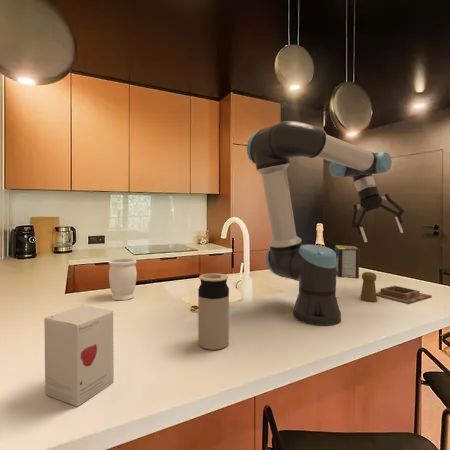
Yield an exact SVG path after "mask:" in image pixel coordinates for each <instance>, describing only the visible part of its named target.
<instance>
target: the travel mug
mask: <svg viewBox="0 0 450 450" xmlns="http://www.w3.org/2000/svg"><path fill="white" fill-rule="evenodd" d="M199 279H200V285H199V287H198V290H197V291H198V292H197V293H198V302H197V303H198V304H197V305H198V307H197V308H198V311H197V312H198V315H197V317H198V320H197V321H198V324H197V326H198V336H197V337H198V339H197V341H198V346H199V347H201V348H203V349H205V350H209V351H218V350H220V349H224V348H225V347H227V346H229V343H230V342H229V341H230V340H229V338H230V337H229V334H230V333H229V332H230V331H229V329H230V327H229V326H230V325H229V323H230V311H229V310H230V303H229V302H230V288H229V286H228V284H227V281H228V279H229V276H228V275H227V274H225V273H224V274H223V273H215V272H214V273H204V274H201V275H199Z"/></svg>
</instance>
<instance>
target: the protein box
mask: <svg viewBox="0 0 450 450" xmlns="http://www.w3.org/2000/svg"><path fill="white" fill-rule="evenodd" d="M334 247H335V248H334V252H335V253H336V261H337V270H336V277H337V278H344V277H348V278H349V279H359V277H360V275H359V274H360V248H359V247H356V246H355V245H334ZM348 278H347V279H348Z"/></svg>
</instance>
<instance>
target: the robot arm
mask: <svg viewBox="0 0 450 450" xmlns="http://www.w3.org/2000/svg"><path fill="white" fill-rule="evenodd" d="M246 153H247V156H248V159H249V161H251V163H253V164H255V168H256V172H258V173H259V174H261V177H262V183H263V189H264V194H265V202H266V208H267V213H268V219H269V225H270V230H271V236H272V239H271V241H270V242H269V248H268V249H267V253H266V255H265V262H266V266H267V268H268V269H269V271H270V272H271V273H273V274H274V275H276V276H279V277H281V278H286V279H289V280H293V281H297V282H298V294H297V298H296V300H295V304H294V306H293V309H292V312H293V313H292V315H293V318H295V319H296V320H298V321H300V322H302V323H305V324H309V325H314V326H331V325H332V326H333V325H336V324H339V323H340V322H341V321H342V313H341V309H340V307H339V303H338V299H337V296H336V295H337V274H336V270H337V261H336V253H335V250H333V249H332V248H330V247H327V246H324V245H316V244H303V242H302V238H300V237H299V236H297V231H296V226H295V225H296V224H295V218H294V212H293V205H292V199H291V192H290V185H289V179H288V174H287V170H288V167H289V166H290V164H291V163H290V159H291V158H299V157H304V158H308V159H315V158H318V159H323V160H324V161H329V162H330V164H329V168H328V169H329V173H330V175H331V176H332V177H334V178H352V180H353V184H354V186H355V189H356V192H357V196H358V198H359V202H360V203H359V204H358V203H357V204H353V209H354V211H353V215H352V222H351V228H354V229H356V230H357V233H358V235H359V236H362V238H363V242H364V243H367V242H368V239H367V236H366V233H365V230H364V227H363V226H362V224H363V223H364V220H365V218H366V216H367V214H368V212H372V211H375V210H376V211H377V210H379V209H380V208H381V209H383V210H384V211H387V212H389V213H391V214H392V215H394V216H395V217H394V218H395V221H396V223H397V226H398V229H399V232H400V233H401V234H404V229H403V228H402V225H403V224H404V221H403V218H402V215H403V214H405V210H404V209H403V208H402V207H401V206H399V205H398V204H397V203H396V202H395V201H394V200H393V199H391V196H390V195H389V194H388V193H385V194H384V195H382V196H381V195H380V193H379V190H378V188H377V186H376V181H375V179H374V176H373V175H379V174H384V173H387V172H388V171H390V169H391V168H392V162H393V161H392V156H391V154H390V153H389V152H387V151H379V152H373V151H370V150H368V149H364V148H362V147H361V146H357V145H354V144H352V143H349V142H347V141H344V140H341V139H339V138H338V137H337V138H336V137H335V136H331V135H329V134H327V133H326V131H325V130H324V129H323V128H320V127H319V126H315V125H314V124H310V123H306V122H301V121H296V120H283V121H281V122H278V123H276V124H273V125H270V126H268V127H267V126H266V127H264V128H261V129H259V130H258V131H256V132H254V133H253V134H252V135H250V137H249V139H248V140H247V145H246ZM383 200H384V201H385V202H388V203H389V204H390V205H392V206H393V207H394V208H395V209H396V210H397V211H396V210H393V209H392V208H390V207H388V206H386V205H385V204H383V203H382V202H383ZM361 208H363V210H362V213H361V215H360V217H359V216H358V215H359V210H360V209H361ZM398 211H399V212H398ZM358 217H359V219H358Z"/></svg>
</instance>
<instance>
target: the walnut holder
mask: <svg viewBox="0 0 450 450" xmlns="http://www.w3.org/2000/svg"><path fill="white" fill-rule="evenodd" d="M376 297H378V298H382V299H387V300H391V301H394V302H398V303H402V304H406V305H410V304H414V303H417V302H420V301H421V302H422V301H425V300H427V299H431V298H432V297H433V295H432V294H427V293H422V292H421V291H420V290H417V289H412V288H408V287H403V286H399V285H390V286H386V287H382V288H380V291H376Z"/></svg>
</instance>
